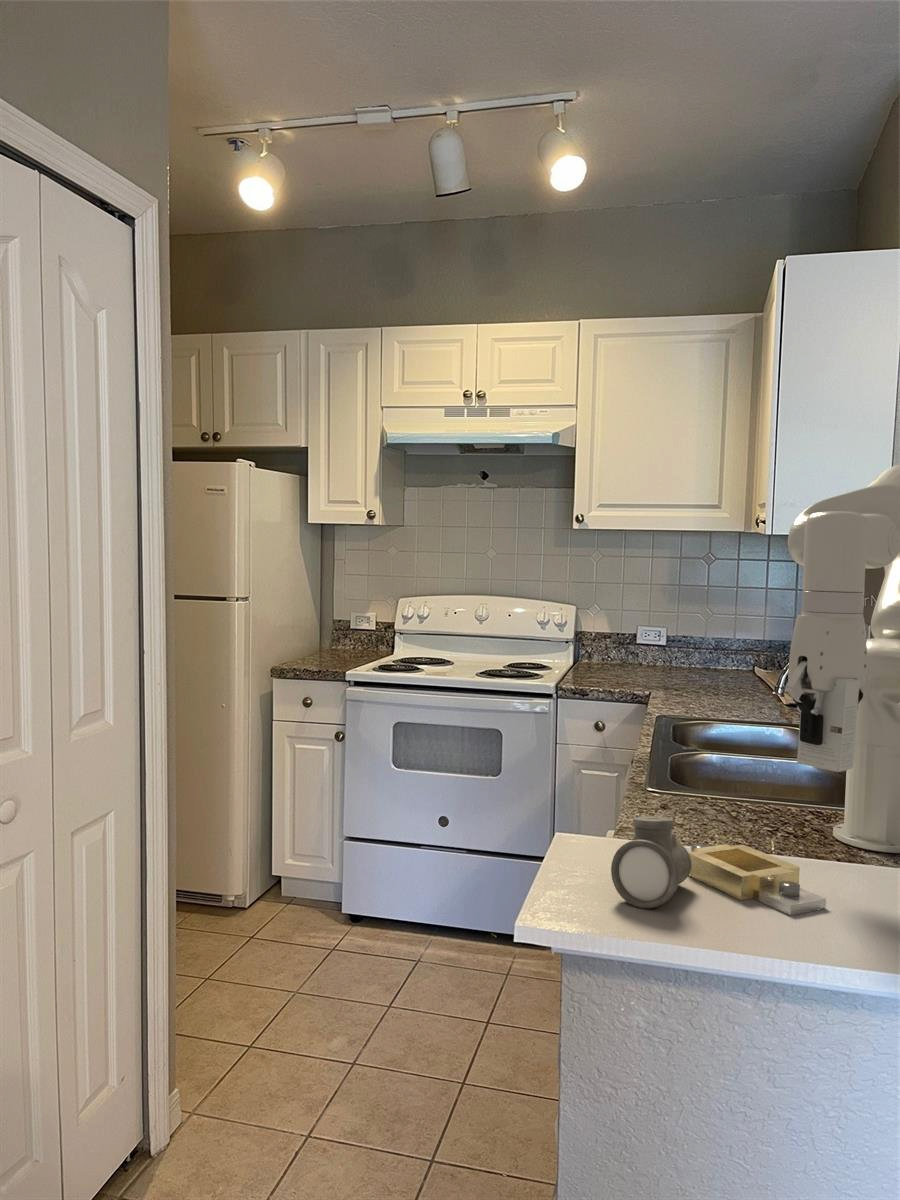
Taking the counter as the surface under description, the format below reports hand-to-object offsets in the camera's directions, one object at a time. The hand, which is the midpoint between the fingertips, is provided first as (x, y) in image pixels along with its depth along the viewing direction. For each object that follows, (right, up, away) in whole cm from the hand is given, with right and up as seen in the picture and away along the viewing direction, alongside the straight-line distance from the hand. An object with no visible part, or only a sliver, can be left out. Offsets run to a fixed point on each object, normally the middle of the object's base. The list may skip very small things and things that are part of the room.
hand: (826, 740), depth 117 cm
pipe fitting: (-24, -19, -6) cm, 31 cm away
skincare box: (0, -4, 0) cm, 4 cm away
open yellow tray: (-11, -19, 0) cm, 22 cm away
